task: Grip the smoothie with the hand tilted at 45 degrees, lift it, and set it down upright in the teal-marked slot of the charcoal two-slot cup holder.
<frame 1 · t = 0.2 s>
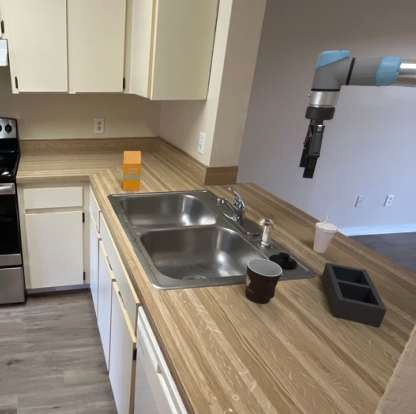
hand: (305, 172, 110), 27 cm above the worktop, tool pointing down, fingers open, 13 cm apart
cup holder: (347, 300, 92), on the worktop
orange juice: (130, 188, 177), on the worktop
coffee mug: (256, 300, 93), on the worktop
smoothie: (319, 250, 117), on the worktop
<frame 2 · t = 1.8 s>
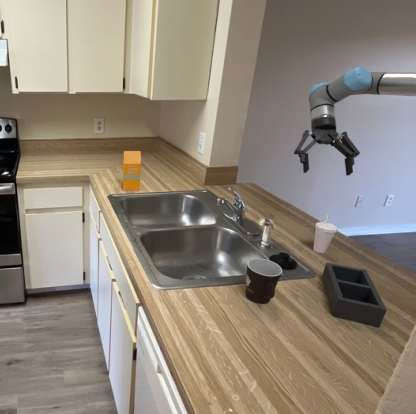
hand: (327, 172, 115), 26 cm above the worktop, tool tilted 45°, fingers open, 13 cm apart
nothing on the worktop moved.
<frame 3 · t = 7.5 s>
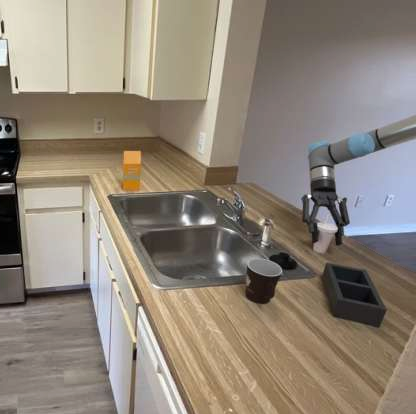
hand: (327, 243, 112), 5 cm above the worktop, tool tilted 45°, fingers closed on smoothie, 6 cm apart
smoothie: (319, 250, 117), on the worktop, touching gripper
everything else where it was.
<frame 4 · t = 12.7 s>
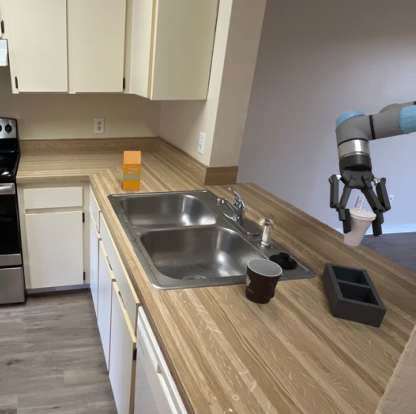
hand: (362, 233, 90), 18 cm above the worktop, tool tilted 45°, fingers closed on smoothie, 6 cm apart
smoothie: (351, 243, 95), point 13 cm above the worktop, touching gripper
everything else where it was.
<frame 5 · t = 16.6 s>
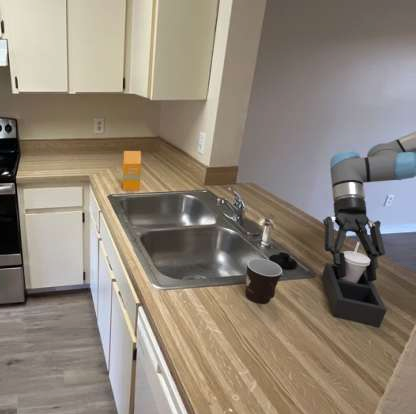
hand: (356, 278, 90), 7 cm above the worktop, tool tilted 45°, fingers closed on smoothie, 6 cm apart
smoothie: (345, 286, 95), point 2 cm above the worktop, touching gripper
everything else where it was.
when the fingers open (7 cm above the worktop, at t = 17.8 s): smoothie drops 1 cm, resting on cup holder.
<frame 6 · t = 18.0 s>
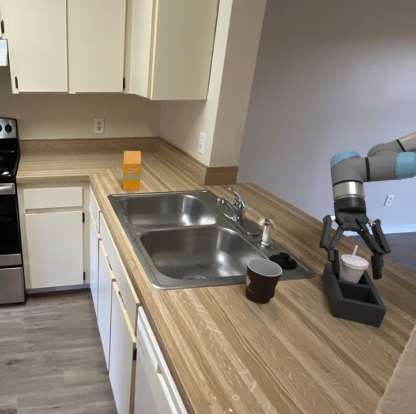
hand: (356, 276, 90), 7 cm above the worktop, tool tilted 45°, fingers open, 9 cm apart
smoothie: (344, 289, 96), point 1 cm above the worktop, touching cup holder
everything else where it was.
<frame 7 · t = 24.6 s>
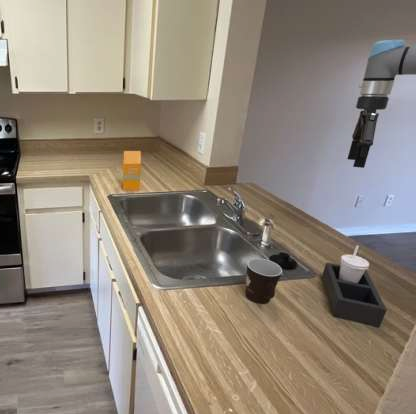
hand: (355, 163, 110), 30 cm above the worktop, tool pointing down, fingers open, 13 cm apart
nothing on the worktop moved.
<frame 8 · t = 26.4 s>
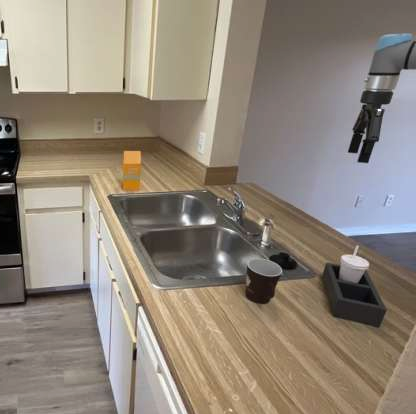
hand: (357, 157, 111), 32 cm above the worktop, tool pointing down, fingers open, 13 cm apart
nothing on the worktop moved.
at the end: smoothie 0.1 cm from the target spot in the cup holder, point 0.6 cm above the cup holder's base; smoothie tilted 0°; the gripper is holding nothing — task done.
